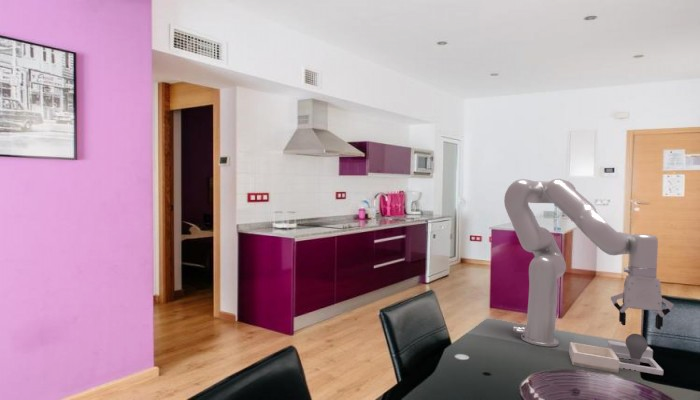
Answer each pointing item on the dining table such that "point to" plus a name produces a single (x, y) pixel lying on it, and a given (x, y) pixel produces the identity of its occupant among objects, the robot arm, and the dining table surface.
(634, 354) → the light bulb
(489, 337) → the dining table surface
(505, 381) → the dining table surface
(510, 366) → the dining table surface
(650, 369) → the tester cradle
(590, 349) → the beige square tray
